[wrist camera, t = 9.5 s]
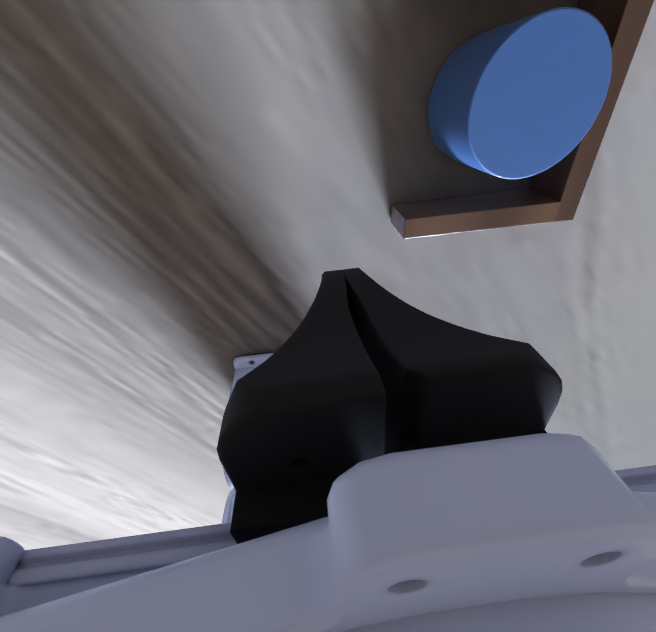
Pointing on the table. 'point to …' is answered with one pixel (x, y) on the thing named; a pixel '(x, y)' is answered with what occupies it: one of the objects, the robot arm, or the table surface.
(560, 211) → the frame
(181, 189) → the table surface
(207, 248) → the table surface
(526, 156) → the puck
